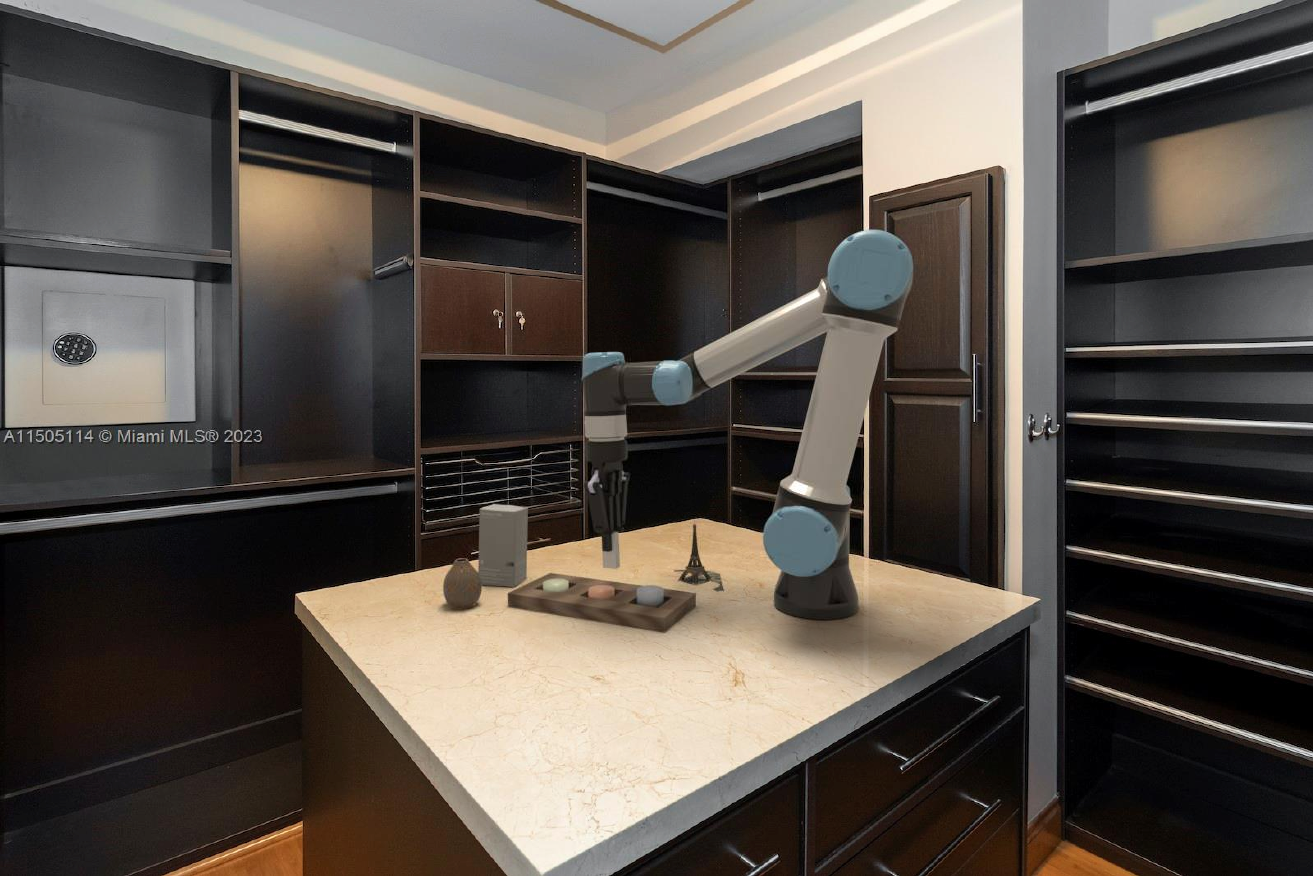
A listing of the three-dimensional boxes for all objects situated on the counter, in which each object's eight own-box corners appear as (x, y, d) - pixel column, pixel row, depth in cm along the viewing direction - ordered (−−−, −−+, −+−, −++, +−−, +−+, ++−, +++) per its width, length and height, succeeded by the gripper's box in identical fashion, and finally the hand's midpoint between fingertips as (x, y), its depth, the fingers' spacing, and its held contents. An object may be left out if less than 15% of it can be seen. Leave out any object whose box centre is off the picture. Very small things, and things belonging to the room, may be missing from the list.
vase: (471, 613, 126) (470, 565, 125) (436, 610, 127) (434, 564, 126) (488, 600, 132) (486, 555, 132) (455, 598, 134) (453, 554, 133)
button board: (696, 606, 128) (696, 593, 128) (664, 632, 115) (664, 617, 115) (550, 584, 142) (550, 572, 141) (508, 606, 129) (507, 593, 129)
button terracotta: (619, 602, 130) (618, 586, 129) (606, 610, 125) (606, 594, 125) (596, 599, 132) (596, 583, 131) (583, 607, 127) (583, 591, 127)
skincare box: (477, 585, 142) (474, 509, 140) (493, 575, 149) (491, 502, 147) (516, 588, 140) (513, 510, 138) (530, 578, 147) (528, 504, 145)
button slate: (667, 603, 125) (667, 587, 125) (656, 611, 121) (656, 595, 121) (644, 599, 127) (643, 583, 127) (632, 608, 123) (631, 591, 123)
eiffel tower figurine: (725, 594, 136) (725, 527, 135) (673, 595, 136) (673, 528, 135) (718, 572, 151) (718, 511, 150) (672, 572, 151) (671, 512, 150)
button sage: (573, 595, 134) (573, 580, 134) (559, 603, 130) (559, 587, 129) (552, 592, 136) (552, 577, 136) (538, 599, 132) (538, 584, 131)
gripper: (606, 435, 132) (610, 556, 134) (568, 442, 121) (574, 575, 123) (641, 435, 129) (645, 559, 131) (606, 442, 117) (612, 579, 119)
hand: (611, 567), depth 127 cm, fingers closed
